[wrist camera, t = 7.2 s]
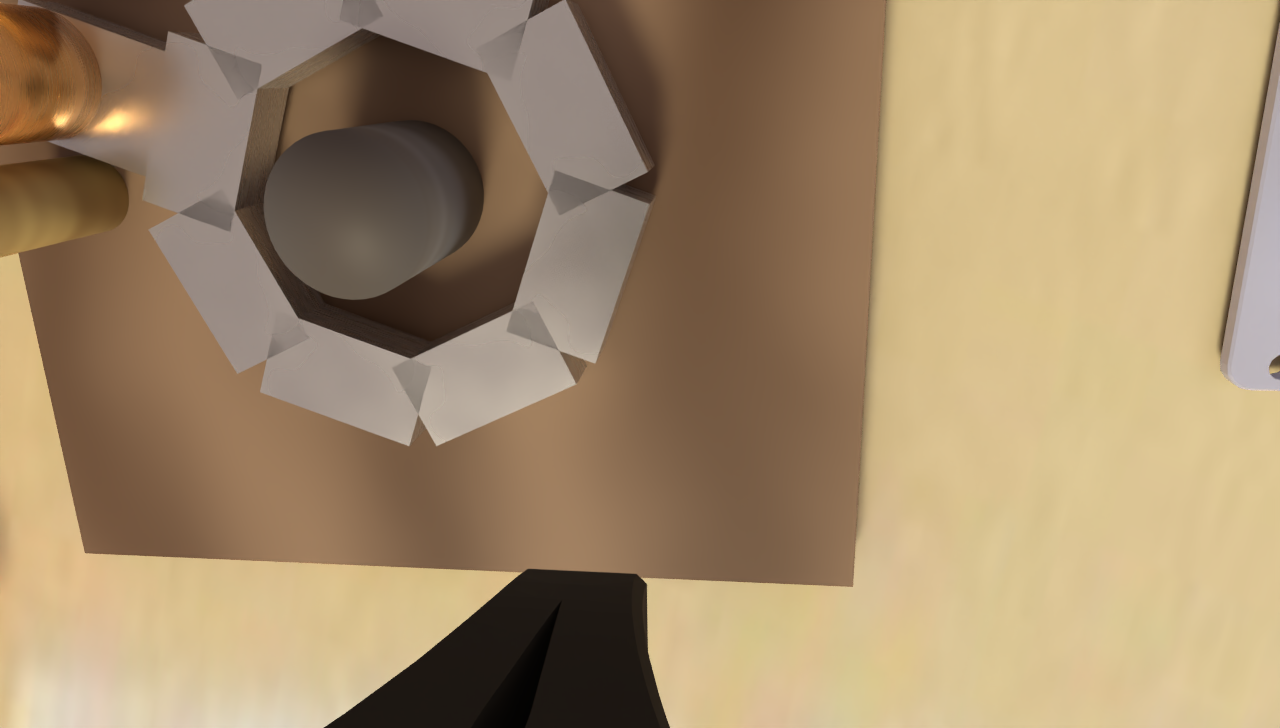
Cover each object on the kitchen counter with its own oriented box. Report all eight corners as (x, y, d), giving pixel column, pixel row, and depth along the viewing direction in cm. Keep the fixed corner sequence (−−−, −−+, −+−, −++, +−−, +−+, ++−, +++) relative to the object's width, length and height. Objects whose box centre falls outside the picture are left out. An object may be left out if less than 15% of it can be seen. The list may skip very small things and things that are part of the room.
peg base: (896, -318, 16) (957, -484, 11) (848, 563, 21) (876, 706, 16) (-53, -254, 18) (-342, -370, 13) (112, 533, 23) (-54, 652, 18)
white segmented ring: (710, 37, 17) (697, 27, 13) (561, 473, 20) (515, 568, 16) (47, -199, 17) (-158, -278, 13) (-1, 269, 20) (-181, 315, 16)
